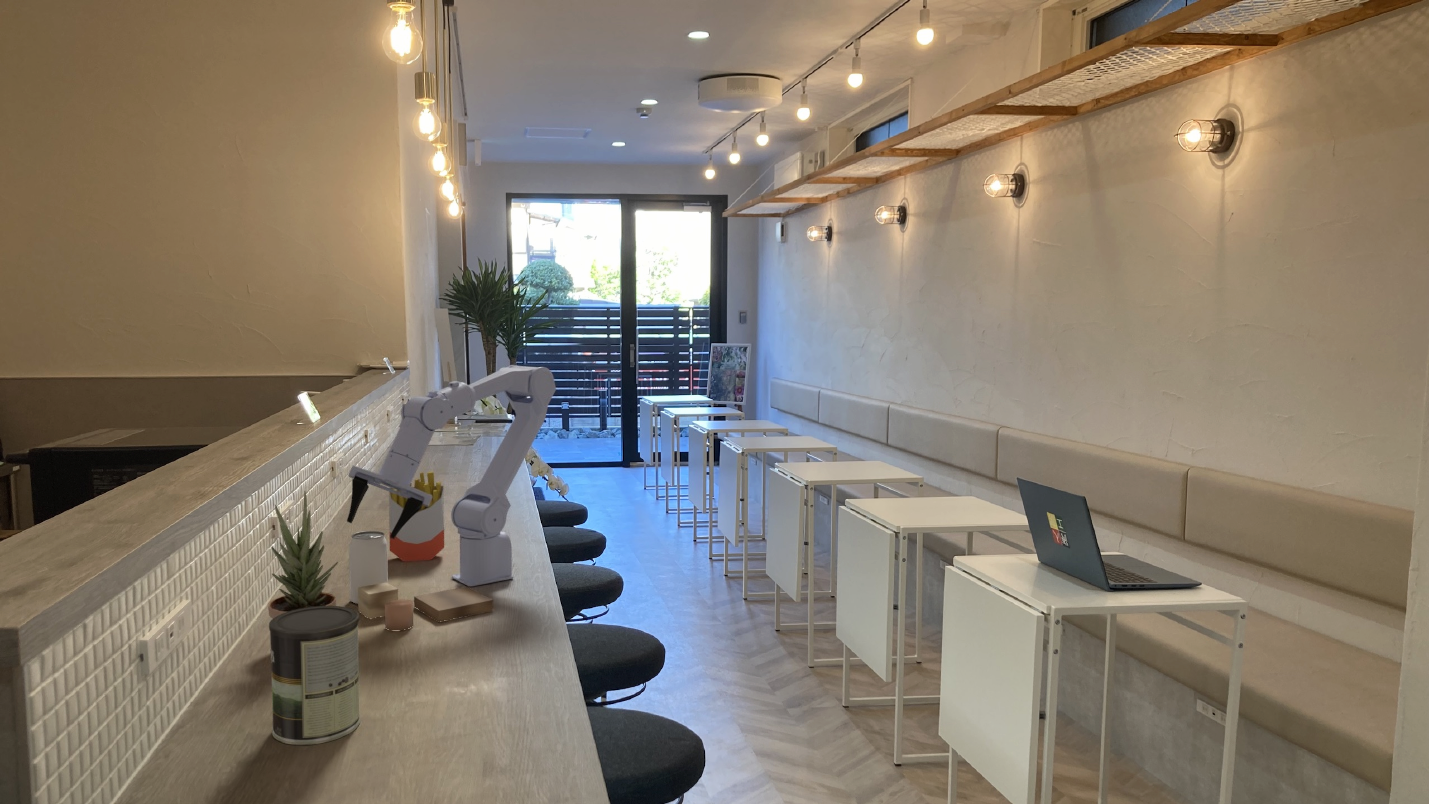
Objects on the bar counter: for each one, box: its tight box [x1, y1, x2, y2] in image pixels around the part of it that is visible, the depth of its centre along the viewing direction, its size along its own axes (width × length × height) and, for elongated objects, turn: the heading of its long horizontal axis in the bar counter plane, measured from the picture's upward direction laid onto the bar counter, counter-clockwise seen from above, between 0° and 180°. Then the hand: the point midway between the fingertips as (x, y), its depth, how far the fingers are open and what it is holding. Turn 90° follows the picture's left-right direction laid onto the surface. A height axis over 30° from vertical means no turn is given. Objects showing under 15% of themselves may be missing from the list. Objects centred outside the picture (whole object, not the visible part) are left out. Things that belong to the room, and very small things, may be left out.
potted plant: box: [267, 490, 339, 620], centre depth 145 cm, size 10×10×25 cm
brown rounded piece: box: [384, 598, 414, 631], centre depth 156 cm, size 4×4×4 cm
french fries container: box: [388, 471, 445, 562], centre depth 198 cm, size 5×11×18 cm, turn 108°
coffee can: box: [268, 605, 361, 746], centre depth 118 cm, size 10×10×14 cm
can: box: [348, 530, 389, 605], centre depth 169 cm, size 6×6×12 cm
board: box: [413, 586, 494, 623], centre depth 165 cm, size 10×10×2 cm
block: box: [357, 582, 399, 619], centre depth 163 cm, size 5×5×4 cm
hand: (370, 530), depth 163 cm, fingers open, 7 cm apart
